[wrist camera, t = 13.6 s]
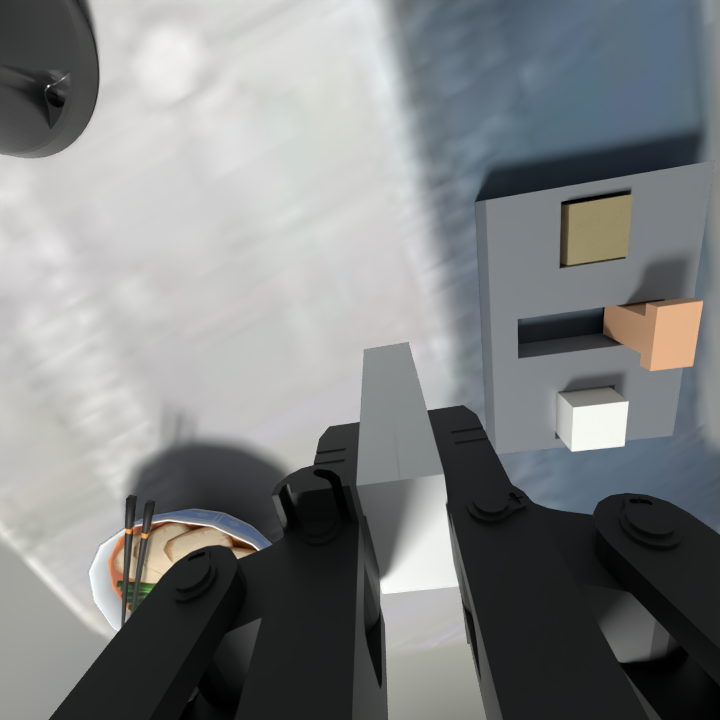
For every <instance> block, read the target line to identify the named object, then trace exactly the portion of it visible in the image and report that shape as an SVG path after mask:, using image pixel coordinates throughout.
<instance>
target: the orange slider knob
mask: <svg viewBox="0 0 720 720" xmlns="http://www.w3.org/2000/svg"><path fill="white" fill-rule="evenodd" d="M702 305H703V301H702V300H698V299H694V298H690V297H689V298H682V299H675V300H668V301H661V302H658V301H655V300H651V301H644V302H637V303H629V304H622V305H615V306H608V307H605V311H604V326H603V334H604V335H606V336H608V337H610V338H612V339H614V340H616V341H618V342H620V343H622V344H624V345H626V346H627V347H629V348H631V349H633V350H635V351H637V352H639V353H641V359H640V366H642V367H644V368H645V369H647V370H649V371H656V370H664V369H673V368H681V367H689V366H693V361H694V355H695V349H696V342H697V336H698V330H699V324H700V318H701V312H702Z"/></svg>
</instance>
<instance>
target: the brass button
mask: <svg viewBox="0 0 720 720" xmlns="http://www.w3.org/2000/svg"><path fill="white" fill-rule="evenodd" d="M632 199H633V194H629V195H618V196H607V197H599V198H593V199H587V200H581V201H575V202H570V203H564V204H561V225H560V264H564V265H573V264H579V263H586V262H593V261H599V260H606V259H612V258H619V257H625V256H628V245H629V234H630V222H631V210H632Z"/></svg>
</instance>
